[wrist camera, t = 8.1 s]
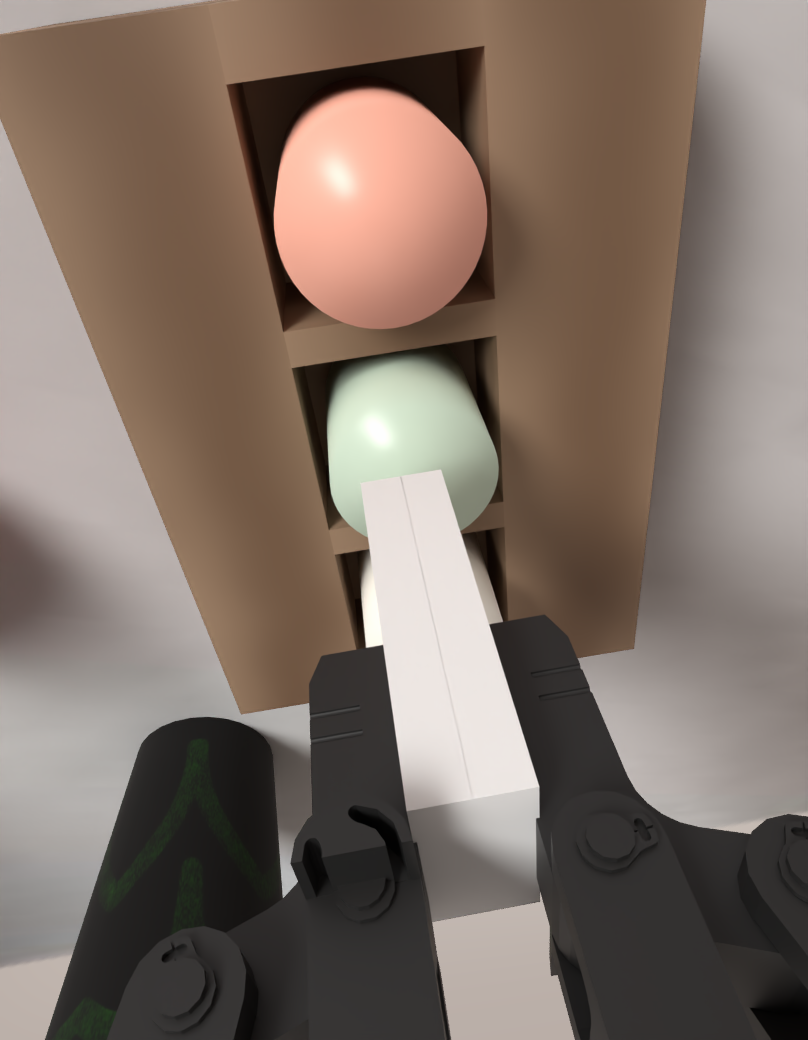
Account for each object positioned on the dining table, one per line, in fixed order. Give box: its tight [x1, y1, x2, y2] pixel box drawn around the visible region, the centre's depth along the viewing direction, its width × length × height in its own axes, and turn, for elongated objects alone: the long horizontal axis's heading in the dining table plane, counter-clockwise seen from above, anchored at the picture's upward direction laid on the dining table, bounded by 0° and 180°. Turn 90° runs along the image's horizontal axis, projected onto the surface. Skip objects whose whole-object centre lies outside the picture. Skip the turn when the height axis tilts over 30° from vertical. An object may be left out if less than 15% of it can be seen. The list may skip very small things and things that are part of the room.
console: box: [0, 0, 706, 714], centre depth 19 cm, size 12×17×5 cm
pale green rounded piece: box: [325, 344, 499, 537], centre depth 17 cm, size 4×4×4 cm
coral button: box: [274, 77, 487, 329], centre depth 14 cm, size 4×4×4 cm
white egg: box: [357, 532, 503, 648], centre depth 20 cm, size 4×4×4 cm
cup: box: [45, 717, 283, 1040], centre depth 26 cm, size 8×8×12 cm
